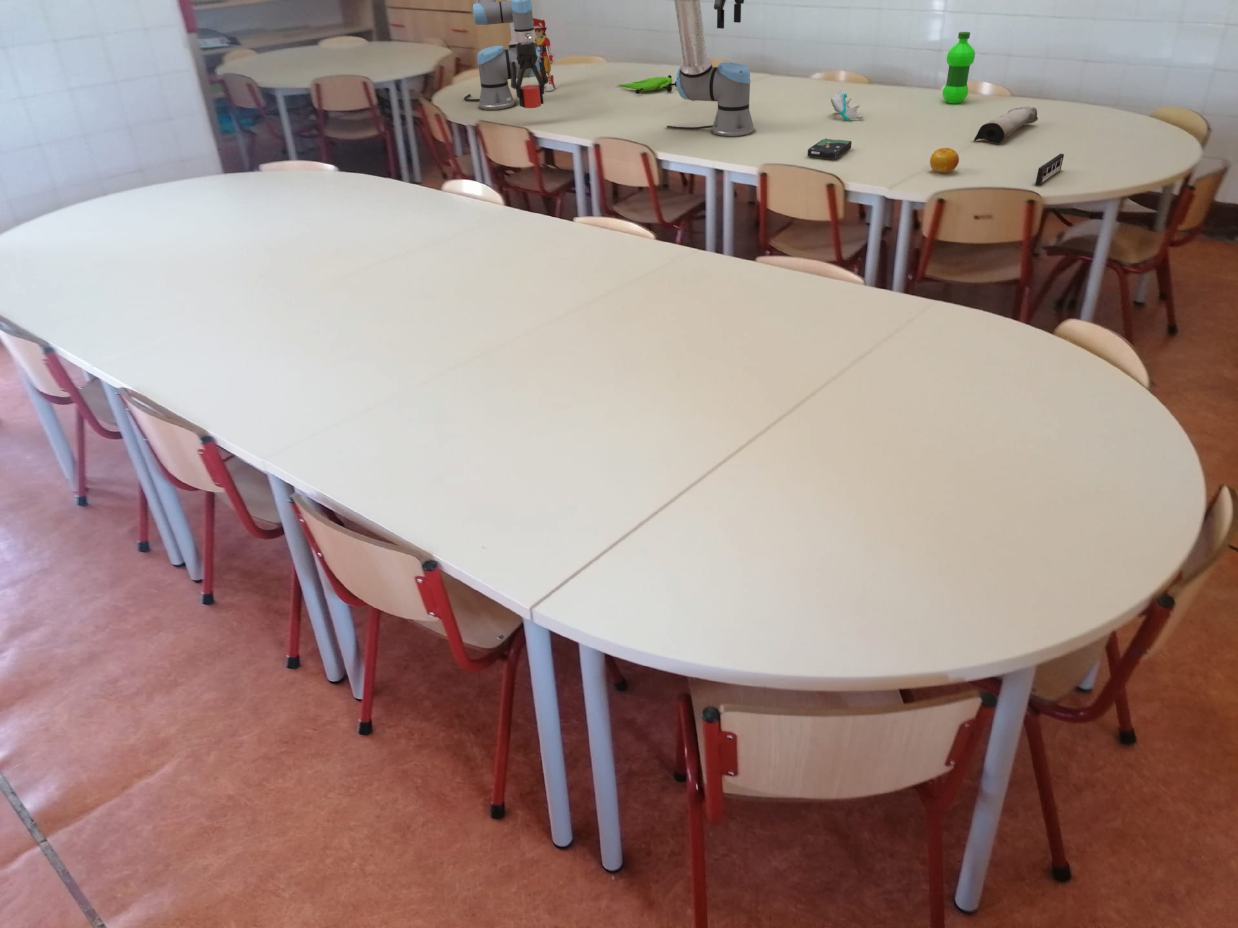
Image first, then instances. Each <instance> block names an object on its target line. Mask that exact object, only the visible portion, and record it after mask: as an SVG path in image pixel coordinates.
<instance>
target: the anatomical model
mask: <svg viewBox="0 0 1238 928" xmlns="http://www.w3.org/2000/svg"><path fill="white" fill-rule="evenodd" d="M847 97H848V95H847V92H845V91H844V90H842V89H841V90H839V93H837V95H833V96H831V97H830V103H831V106H832V107H833V110H834V111H835V112H836V113H839V114H840V115H841V117H842V119H843V120H844V121H851V120H856V119H857V120H858V119H860V120H861V119H863V118H864V115H863V114H859V113H858V110H859V108H860V106H861V104H856V105H854V106H850V105H849V104H850V102H851V101H852V98H848V99H847Z"/></svg>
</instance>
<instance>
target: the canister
mask: <svg viewBox="0 0 1238 928" xmlns="http://www.w3.org/2000/svg"><path fill="white" fill-rule="evenodd" d="M521 89H522V90H523V99H524V107H523V108H524V109H535V108H536V109H537V108H540V107H541V106H542V104H541V97H540V87H539V86H538V85H534V84H528V85H521Z"/></svg>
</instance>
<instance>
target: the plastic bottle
mask: <svg viewBox="0 0 1238 928" xmlns="http://www.w3.org/2000/svg"><path fill="white" fill-rule="evenodd" d="M970 36H971V32H970V31H959V32H958V36H957V39H958V42H957V43H956V44H954V45H953V46H952V47H951V48H950V49H949V50H948V52H947V54H946V63H947V64H948V69H947V70H948V71H947V76H946V77H947V78H946V84H945V85H944V87H943V90H942V97H943V99H944V100H945V101H946V102H947V103H948V104H960V103H961V102H963V101H964V100H966V98H967V96H968V95H969V85H968V79H969V73H970V67H971V65H972V64H973V63H974V61H975V57H976V51H975V49H974V47H972V45H971V44H970V43H969V42H968V41H969V39H970V38H971V37H970Z"/></svg>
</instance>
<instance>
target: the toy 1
mask: <svg viewBox="0 0 1238 928" xmlns="http://www.w3.org/2000/svg"><path fill="white" fill-rule="evenodd" d="M533 27H534V36H536V37H535V42H536V47H537V46H538V47H540V56H542V57H544V65H545V70H546V74H547V79H548V85H545V86H546V87H545V92H550V91H554V90H555V88H556V86H555V82H554V81H555V80H554V75H551V71H552V66H551V65H553V64H554V59H553V58H554V56H555V54H554V53H553V52H552V49H551V46H552V45H551V40H550V39H549V37H548V36H547V34H546V32H547V29H548V27H547V26H546V21H545V19H539V18H535V17H533ZM539 74H540V76H541V78H542V75H541V70H540V73H539ZM542 80H543V79H542ZM533 85H539V83H538V82H537V83H534V84H533Z"/></svg>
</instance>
